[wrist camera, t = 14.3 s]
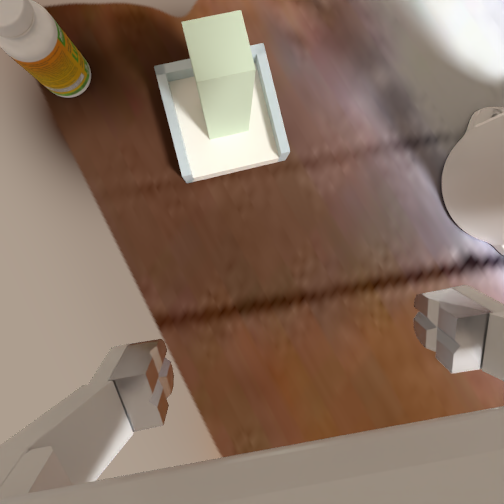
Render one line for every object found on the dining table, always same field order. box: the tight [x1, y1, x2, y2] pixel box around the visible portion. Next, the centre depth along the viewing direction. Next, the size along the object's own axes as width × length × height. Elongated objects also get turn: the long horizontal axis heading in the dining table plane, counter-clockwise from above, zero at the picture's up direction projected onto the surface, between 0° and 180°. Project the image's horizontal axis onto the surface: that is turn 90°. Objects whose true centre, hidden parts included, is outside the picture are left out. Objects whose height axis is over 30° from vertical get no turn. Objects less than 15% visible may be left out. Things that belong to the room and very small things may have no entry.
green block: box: [182, 10, 256, 140], centre depth 27 cm, size 4×4×11 cm
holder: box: [154, 43, 290, 183], centre depth 32 cm, size 12×12×3 cm
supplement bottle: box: [0, 0, 91, 98], centre depth 28 cm, size 5×5×10 cm
